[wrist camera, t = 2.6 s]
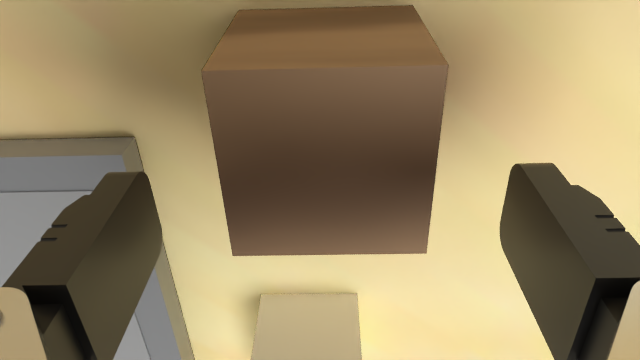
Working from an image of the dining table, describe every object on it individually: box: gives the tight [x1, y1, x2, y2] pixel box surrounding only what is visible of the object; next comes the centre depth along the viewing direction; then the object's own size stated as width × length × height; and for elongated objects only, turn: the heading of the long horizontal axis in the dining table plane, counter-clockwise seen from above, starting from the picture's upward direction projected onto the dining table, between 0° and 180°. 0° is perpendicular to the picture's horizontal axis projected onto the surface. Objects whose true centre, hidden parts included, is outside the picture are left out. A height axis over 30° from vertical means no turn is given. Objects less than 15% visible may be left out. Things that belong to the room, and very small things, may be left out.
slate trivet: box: [0, 137, 194, 360], centre depth 20 cm, size 13×13×1 cm
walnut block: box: [201, 5, 448, 256], centre depth 13 cm, size 5×5×5 cm
